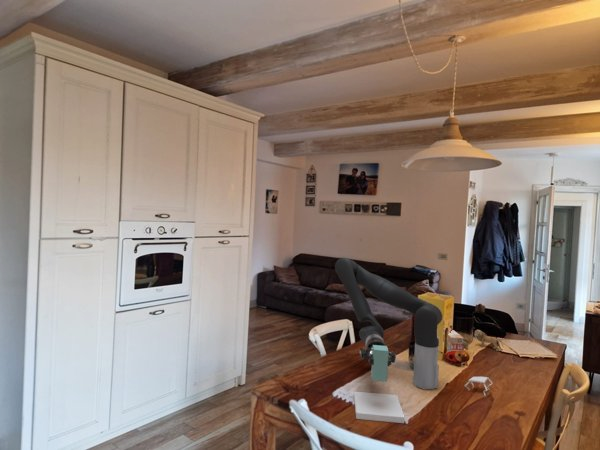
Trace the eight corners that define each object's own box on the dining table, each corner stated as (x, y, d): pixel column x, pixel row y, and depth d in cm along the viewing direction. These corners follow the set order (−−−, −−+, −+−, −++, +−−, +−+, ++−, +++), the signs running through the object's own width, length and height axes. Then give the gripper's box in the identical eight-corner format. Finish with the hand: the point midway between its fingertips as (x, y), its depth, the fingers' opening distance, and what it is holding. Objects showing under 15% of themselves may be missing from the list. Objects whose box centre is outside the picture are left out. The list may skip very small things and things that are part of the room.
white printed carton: (434, 346, 209) (435, 324, 209) (445, 347, 209) (446, 324, 209) (449, 361, 188) (451, 336, 187) (462, 362, 188) (463, 337, 187)
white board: (396, 400, 144) (396, 395, 144) (404, 423, 128) (404, 417, 128) (353, 396, 146) (354, 391, 146) (356, 418, 130) (356, 413, 130)
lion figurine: (472, 346, 213) (473, 330, 213) (474, 343, 217) (475, 328, 217) (502, 352, 204) (503, 336, 204) (503, 350, 209) (504, 333, 209)
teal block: (384, 375, 139) (386, 346, 139) (386, 381, 134) (388, 350, 134) (371, 374, 140) (372, 344, 139) (372, 380, 135) (374, 349, 134)
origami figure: (482, 398, 150) (483, 386, 150) (463, 389, 157) (463, 378, 156) (498, 391, 157) (499, 379, 156) (479, 383, 163) (480, 372, 163)
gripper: (357, 335, 151) (360, 350, 134) (394, 338, 150) (402, 354, 133) (356, 354, 152) (359, 371, 135) (393, 357, 150) (401, 375, 133)
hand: (380, 362), depth 134 cm, fingers closed on teal block, 5 cm apart
